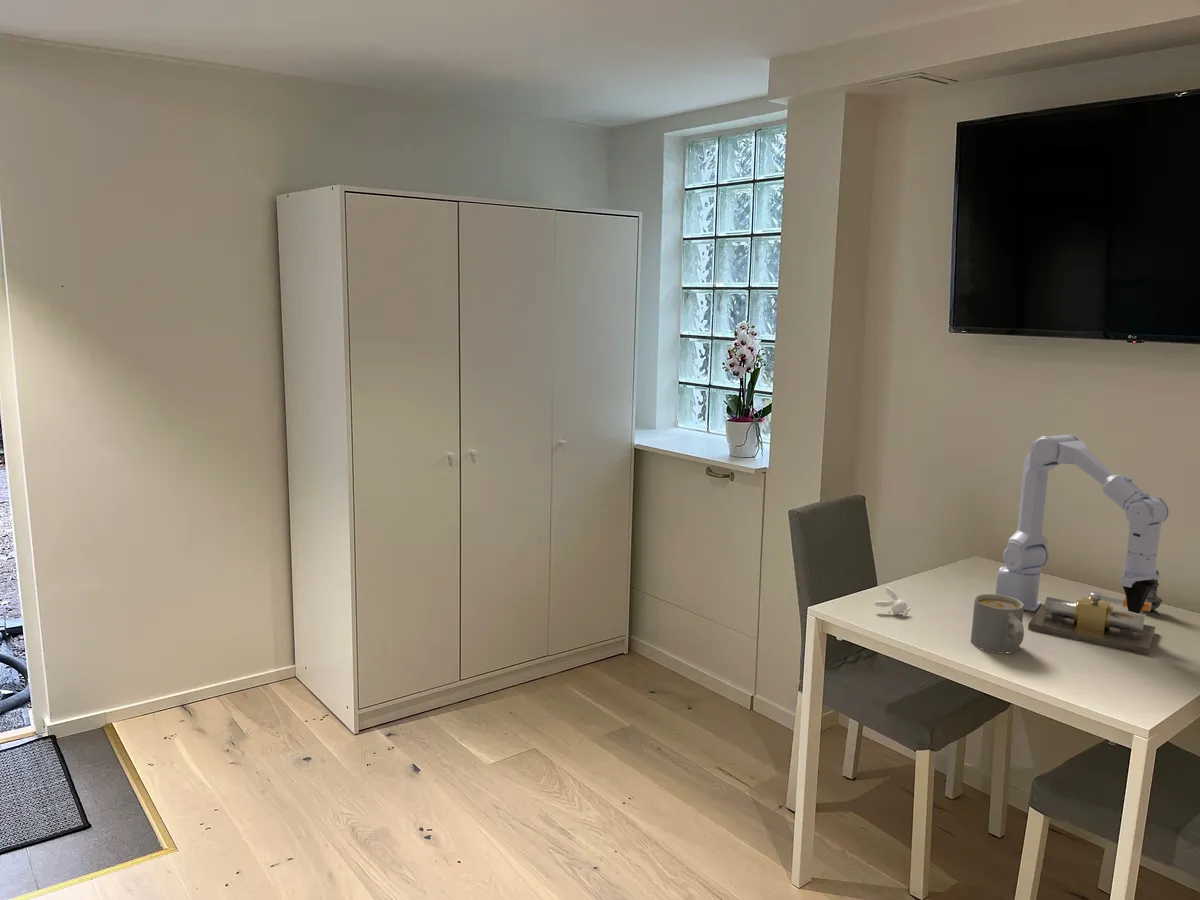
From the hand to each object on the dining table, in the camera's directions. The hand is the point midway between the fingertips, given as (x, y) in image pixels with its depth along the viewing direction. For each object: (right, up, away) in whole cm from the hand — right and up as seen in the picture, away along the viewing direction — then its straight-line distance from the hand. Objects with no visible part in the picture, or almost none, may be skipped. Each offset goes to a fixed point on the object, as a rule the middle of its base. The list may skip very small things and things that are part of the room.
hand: (1134, 611), depth 204 cm
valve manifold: (-5, -6, +9) cm, 12 cm away
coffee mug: (-31, -8, -1) cm, 32 cm away
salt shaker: (+16, -4, +23) cm, 28 cm away
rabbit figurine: (-48, -4, +19) cm, 52 cm away
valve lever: (-1, +1, +5) cm, 5 cm away
